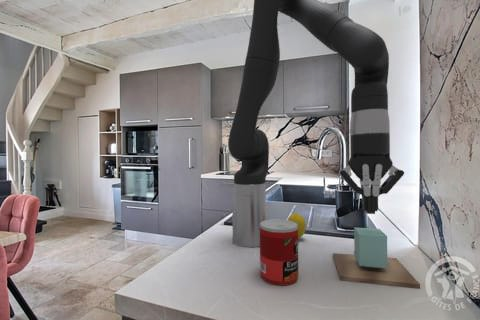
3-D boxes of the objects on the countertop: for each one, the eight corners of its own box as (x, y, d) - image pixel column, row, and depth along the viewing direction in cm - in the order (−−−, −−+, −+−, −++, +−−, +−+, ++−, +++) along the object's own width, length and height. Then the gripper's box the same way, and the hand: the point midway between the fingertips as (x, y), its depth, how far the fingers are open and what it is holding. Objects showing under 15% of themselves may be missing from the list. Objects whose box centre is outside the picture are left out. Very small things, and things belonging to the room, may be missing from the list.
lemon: (306, 242, 70) (306, 215, 70) (286, 241, 72) (286, 214, 71) (305, 236, 76) (305, 210, 76) (287, 235, 77) (286, 210, 77)
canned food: (290, 290, 46) (290, 231, 46) (253, 279, 50) (252, 225, 50) (303, 273, 52) (303, 221, 52) (269, 265, 56) (268, 217, 56)
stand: (339, 280, 49) (339, 241, 49) (332, 256, 61) (332, 224, 61) (420, 288, 46) (420, 246, 46) (396, 261, 57) (396, 228, 57)
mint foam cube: (359, 265, 51) (359, 234, 51) (354, 256, 56) (354, 227, 56) (387, 268, 50) (387, 236, 50) (379, 258, 55) (379, 228, 55)
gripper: (339, 132, 51) (340, 216, 51) (411, 129, 48) (412, 218, 48) (334, 135, 58) (335, 208, 58) (397, 133, 55) (397, 210, 55)
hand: (370, 213), depth 53 cm, fingers closed
